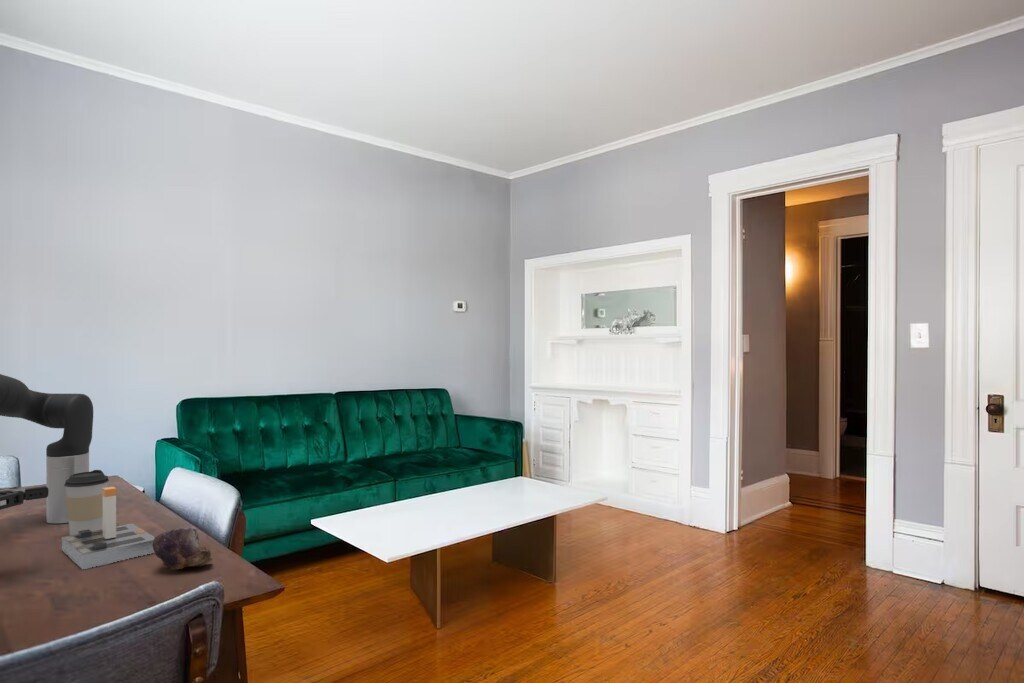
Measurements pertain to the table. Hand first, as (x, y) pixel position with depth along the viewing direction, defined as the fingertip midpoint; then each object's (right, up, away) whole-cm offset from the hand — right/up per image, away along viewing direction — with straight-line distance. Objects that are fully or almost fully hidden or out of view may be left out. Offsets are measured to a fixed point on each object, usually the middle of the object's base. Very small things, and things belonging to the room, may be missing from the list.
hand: (47, 491), depth 129 cm
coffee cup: (-6, -16, +21) cm, 27 cm away
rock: (+29, -15, -1) cm, 33 cm away
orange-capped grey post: (+8, -12, +8) cm, 17 cm away
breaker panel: (+8, -15, +8) cm, 19 cm away
